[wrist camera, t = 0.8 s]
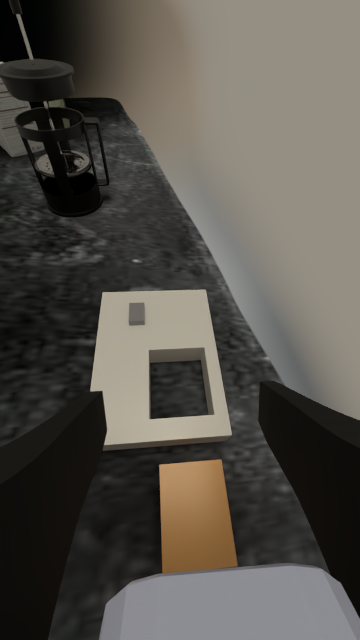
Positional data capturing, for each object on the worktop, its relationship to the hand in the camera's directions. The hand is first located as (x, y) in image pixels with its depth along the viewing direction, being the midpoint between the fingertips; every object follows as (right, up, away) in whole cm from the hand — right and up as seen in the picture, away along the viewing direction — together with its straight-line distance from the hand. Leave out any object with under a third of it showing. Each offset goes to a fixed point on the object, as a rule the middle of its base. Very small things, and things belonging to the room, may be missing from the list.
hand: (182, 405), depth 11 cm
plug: (0, -11, +9) cm, 14 cm away
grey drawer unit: (-35, +41, +43) cm, 69 cm away
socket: (-3, -1, +16) cm, 16 cm away
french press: (-18, +25, +33) cm, 45 cm away
